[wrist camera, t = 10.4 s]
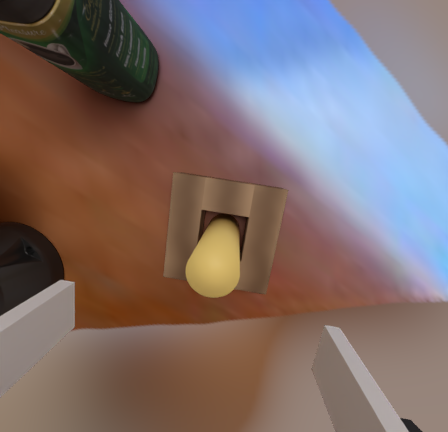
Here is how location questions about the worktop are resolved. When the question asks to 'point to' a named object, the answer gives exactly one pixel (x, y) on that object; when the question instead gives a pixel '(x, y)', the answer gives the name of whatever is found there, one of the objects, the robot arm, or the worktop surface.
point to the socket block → (230, 204)
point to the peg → (216, 258)
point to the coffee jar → (86, 43)
